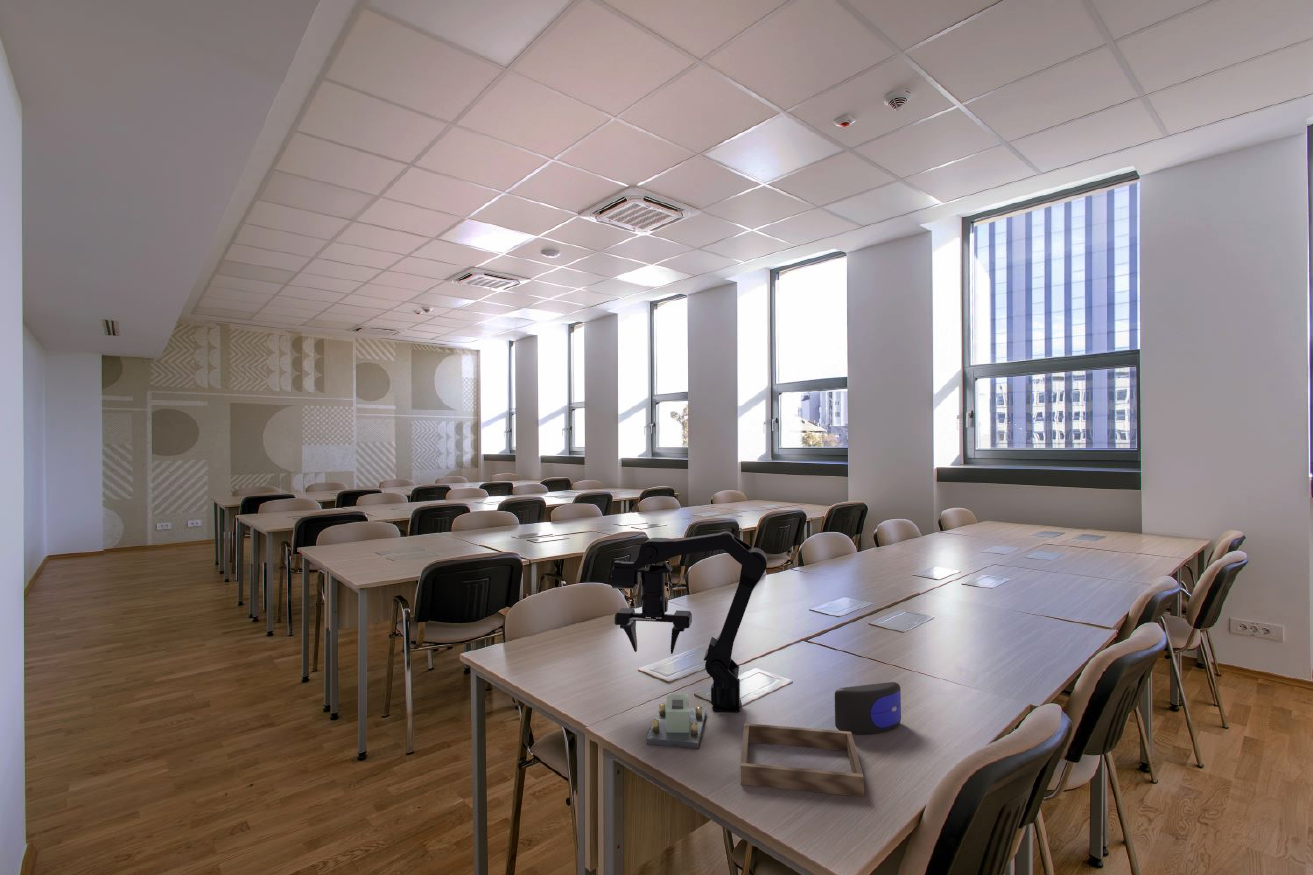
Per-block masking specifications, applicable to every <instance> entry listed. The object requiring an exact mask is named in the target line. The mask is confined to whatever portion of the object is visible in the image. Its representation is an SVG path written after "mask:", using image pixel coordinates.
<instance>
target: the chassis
mask: <svg viewBox="0 0 1313 875" xmlns="http://www.w3.org/2000/svg"><path fill="white" fill-rule="evenodd" d="M706 716H707V709H706V708H703V707H702V706H700V705H696V706H695V707H689V733H669V732H666V703H659V704H658V710H657V712H656V715H655V718H653V719H652V724H651V727H650V729H649V731H648V734H647V735H646V738H645V739H646V740H645V741H646V745H652V746H665V747H673V748H674V747H675V748H676V747H677V748H688V749H699V744H700V741H701V737H702V734H703V728H704V725H705V722H706V721H705V720H706Z"/></svg>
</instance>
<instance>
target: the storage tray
mask: <svg viewBox="0 0 1313 875" xmlns="http://www.w3.org/2000/svg"><path fill="white" fill-rule="evenodd" d="M750 743H753V744H766V745H777V746H786V747H787V746H788V747H800V748H801V747H802V748H811V749H812V748H813V749H823V750H835V751H837V750H838V751H846V752H847V755H848V760H849V764H850V768H851V772H844V771H834V770H833V771H832V770H822V769H814V768H811V769H810V768H801V767H792V766H791V767H789V766H780V765H769V764H759V763H749V752H750V750H749V749H750ZM740 758H741V759H740V785H741V786H742V785H743V786H753V787H763V788H773V789H783V790H795V791H805V792H813V793H823V794H824V793H825V794H834V795H843V796H844V795H845V796H852V797H853V796H854V797H865V779H864V774H863V770H862V766H861V763H860V759H859V755H858V751H857V748H856V744H855V740H854V737H853V734H852V733H851V732H848V731H840V730H833V729H823V728H822V729H820V728H807V727H796V726H783V725H773V724H772V725H771V724H761V723H759V724H758V723H748V722H745V723H744V726H743V737H742V746H741V756H740Z"/></svg>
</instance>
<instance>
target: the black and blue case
mask: <svg viewBox="0 0 1313 875" xmlns="http://www.w3.org/2000/svg"><path fill="white" fill-rule="evenodd" d="M901 690H902V689H901V685H900V683H897V682H895V681H890V682H888V681H887V682H879V683H873V684H872V683H870V684H864V685H863V684H862V685H854V686H846V687H840V688H838V689H836V690H835V692H834V727H836V729H837V731H848V732H851V733H852V735H853V734H855V735H873V734H879V733H884V732H888V731H891V730H893V729H895V728H897V727H898V726H899V725H900V723H901V720H902V707H901V706H902V705H901V704H902V702H901V701H902V698H901V695H902V693H901V692H902V691H901Z"/></svg>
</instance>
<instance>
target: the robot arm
mask: <svg viewBox="0 0 1313 875" xmlns="http://www.w3.org/2000/svg"><path fill="white" fill-rule="evenodd" d="M720 550H723V551H725V552H726V553H727V554H729V556H731V557H732V558H733V559H734V560H735V561H736V562H737V563H739V564H740V565H741V569H740V573H739V574H740V575H739V581H738V585H737V587H736V590H735V593H734V595H733V598H732V600H731V604H730V607H729V609H728V613H727V615H726V618H725V621H724V623H723V626H722V628H721V631H720V633H719V635H718V636H717V637H716V638H715V637H713V636H711V637H710V641H709V644H708V648H707V649H706V651H705V654H704V658H703V661H705V664H704V669H705V671H706V673H707V674H708V676H710V677H711V678H712V684H711V685H710V686H711V687H710V704H711V705H712V711H717V712H728V713H729V712H730V713H740V712H741V706H742V705H741V704H742V699H741V679H740V678H739V674H740V673H739V672H740V666H739V665H738V664H737V663H736V662H735V661H734V660H733V659H732V654H733V648H734V642H735V640H736V637H737V634H738V632H739V629H740V626H741V624H742V621H743V618H744V615H745V612H746V609H747V607H748V604H749V601H750V599H751V596H752V593H753V591H754V589H755V588H756V586H757V585H758V583H759V582H760V580H761V578H762V577H763V575H764V573H765V572H766V569H767V567H768V566H767V565H768V556H767V554H766V552H765V551H764V550H763V549H761V548H759V547H752V546H751V545H749V543H746V542H745V541H744V540H742V539H740V538H738V537H737V536H736V535H734V534H733V533H732V532H730V531H728V530H727V531H725V530H723V531H722V532H718V533H711V534H710V533H709V534H704V535H697V536H691V537H684V538H669V537H651V538H648V539H647V540H646V541H645V542H643V543H642V545H641V546H640V548H639V553H638V554H639V555H638V557H637V558H636V559H635V560H634V561H622V560H615V561H614V562H613V566H612V570H611V576H610V585H611V588H612V589H617V590H618V589H623V590H635V589H636V588H637V586H639V585H640V584H641V596H640V605H641V612H636V611H635V608H633V607H632V608H629V607H621V608H620V609H619V610H618V611H617V612H616V613H615V614H614V625H616V626H619V628H620V629H623V630H624V632H625V634H626V636H627V638H628V640H629V642H630V644H631V647H632V650H633V651H634V653H636V652H638V639H637V622H651V623H653V622H654V623H655V622H656V623H672V628H671V638H670V655H673V654H674V651H675V648H676V645H677V641H678V638H679V636H680V632H685V629H690V627H691V626H692V623H693V614H692V611H690V610H677V609H676V611H675V612H674V614H669V613H667V612H668V609H669V598H667V597H666V592H665V591H666V589H665V586H666V585H665V584H666V583H665V574H670V573H671V572H672V571H673V567H672V566H671V565H669V564H668V562H667V560H669V559H673V558H675V557H678V556H684V555H690V554H691V555H692V554H698V553H699V554H700V553H705V552H707V553H708V552H713V551H720ZM662 562H663V563H662ZM659 563H662V564H659ZM646 565H650V566H648V567H645V566H646Z"/></svg>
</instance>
